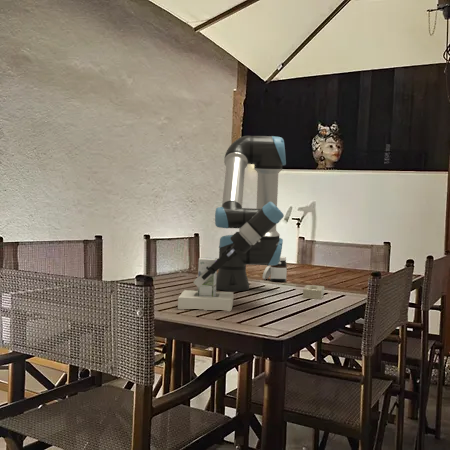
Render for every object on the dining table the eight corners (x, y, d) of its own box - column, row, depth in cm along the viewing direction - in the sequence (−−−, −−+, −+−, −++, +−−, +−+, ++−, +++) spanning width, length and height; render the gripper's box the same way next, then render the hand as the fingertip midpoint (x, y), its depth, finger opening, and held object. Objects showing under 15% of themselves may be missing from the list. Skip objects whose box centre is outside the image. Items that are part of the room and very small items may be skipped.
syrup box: (216, 298, 193) (217, 257, 192) (213, 301, 187) (214, 258, 187) (200, 297, 193) (201, 257, 193) (197, 300, 188) (198, 258, 187)
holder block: (177, 309, 183) (178, 297, 183) (183, 301, 199) (184, 290, 199) (231, 311, 182) (231, 299, 182) (233, 303, 198) (233, 292, 198)
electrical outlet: (324, 283, 230) (321, 290, 213) (324, 293, 230) (321, 300, 213) (307, 282, 232) (303, 288, 214) (306, 292, 232) (302, 299, 215)
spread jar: (287, 283, 256) (288, 258, 256) (263, 282, 256) (263, 257, 256) (284, 279, 268) (285, 256, 268) (261, 278, 268) (262, 255, 268)
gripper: (252, 248, 179) (201, 295, 181) (252, 244, 198) (206, 287, 200) (237, 231, 179) (186, 279, 181) (238, 229, 199) (192, 272, 200)
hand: (197, 283), depth 190 cm, fingers closed on syrup box, 6 cm apart
